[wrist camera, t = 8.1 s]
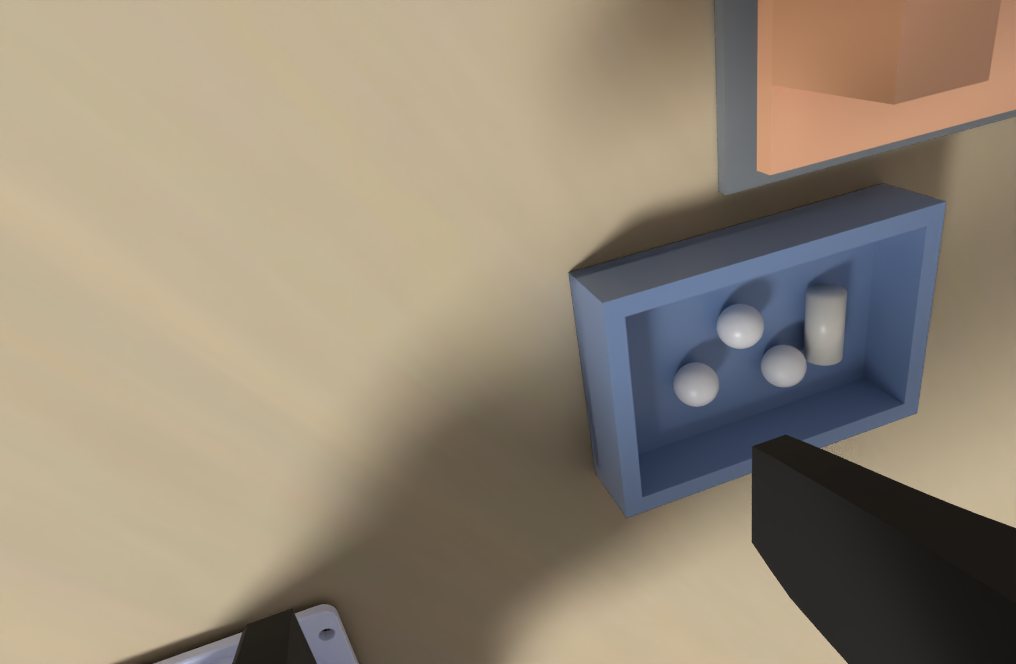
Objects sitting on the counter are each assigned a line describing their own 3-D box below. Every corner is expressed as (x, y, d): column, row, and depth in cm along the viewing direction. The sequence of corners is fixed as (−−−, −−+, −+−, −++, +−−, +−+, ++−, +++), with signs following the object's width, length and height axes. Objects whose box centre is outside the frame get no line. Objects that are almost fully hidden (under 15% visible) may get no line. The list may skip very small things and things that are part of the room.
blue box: (865, 380, 26) (917, 413, 24) (595, 473, 24) (626, 518, 22) (883, 183, 22) (945, 201, 20) (568, 272, 20) (602, 303, 18)
